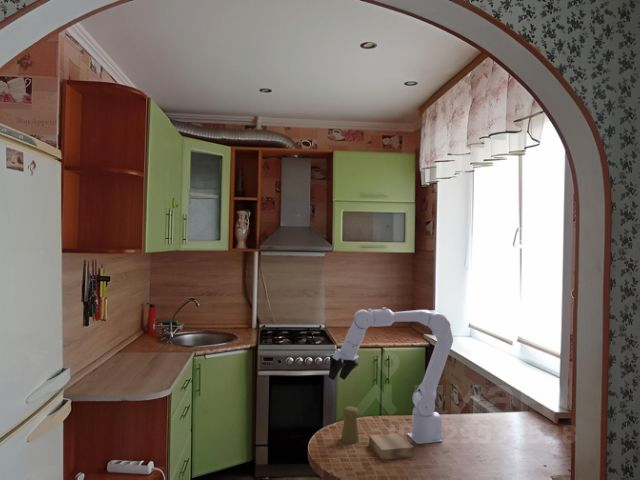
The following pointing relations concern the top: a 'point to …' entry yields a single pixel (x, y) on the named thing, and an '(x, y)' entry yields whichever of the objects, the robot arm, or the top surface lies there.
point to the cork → (350, 425)
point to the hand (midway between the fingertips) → (336, 378)
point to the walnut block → (391, 446)
